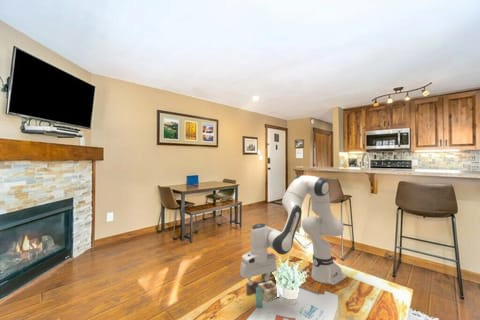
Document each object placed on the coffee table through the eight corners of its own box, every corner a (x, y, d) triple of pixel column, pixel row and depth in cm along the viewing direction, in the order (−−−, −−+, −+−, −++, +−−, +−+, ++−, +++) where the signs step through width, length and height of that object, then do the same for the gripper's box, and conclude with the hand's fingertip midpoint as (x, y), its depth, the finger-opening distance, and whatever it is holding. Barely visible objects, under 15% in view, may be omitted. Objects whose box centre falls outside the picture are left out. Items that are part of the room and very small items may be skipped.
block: (271, 288, 132) (271, 280, 132) (279, 297, 124) (279, 288, 124) (257, 292, 128) (257, 283, 128) (266, 301, 120) (266, 291, 120)
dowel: (260, 303, 118) (260, 286, 118) (263, 307, 115) (263, 289, 115) (254, 305, 117) (254, 287, 117) (257, 308, 114) (257, 291, 114)
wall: (278, 284, 136) (278, 275, 137) (280, 286, 135) (280, 276, 135) (246, 293, 127) (246, 283, 127) (247, 295, 125) (247, 284, 126)
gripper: (272, 250, 123) (272, 275, 123) (238, 256, 115) (238, 283, 114) (278, 254, 118) (278, 281, 117) (244, 261, 109) (244, 289, 109)
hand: (258, 282), depth 116 cm, fingers open, 8 cm apart
